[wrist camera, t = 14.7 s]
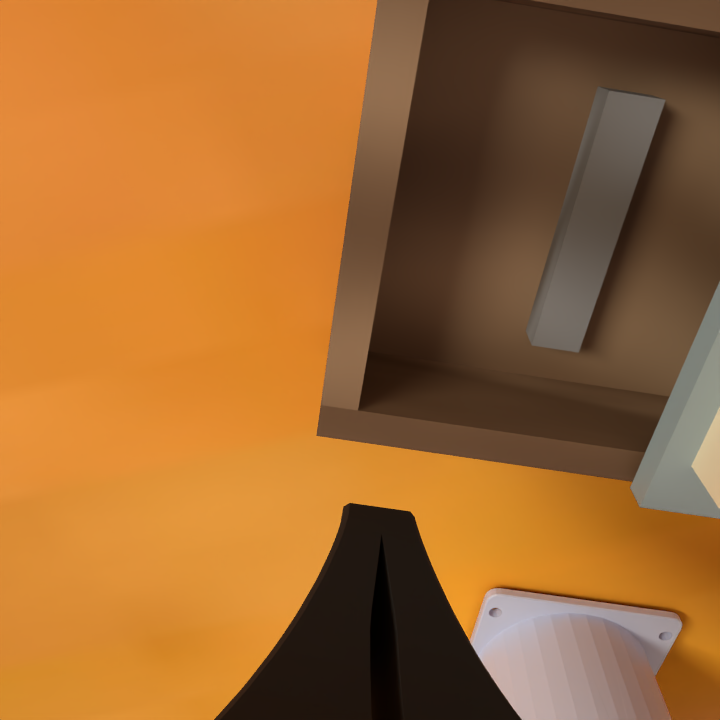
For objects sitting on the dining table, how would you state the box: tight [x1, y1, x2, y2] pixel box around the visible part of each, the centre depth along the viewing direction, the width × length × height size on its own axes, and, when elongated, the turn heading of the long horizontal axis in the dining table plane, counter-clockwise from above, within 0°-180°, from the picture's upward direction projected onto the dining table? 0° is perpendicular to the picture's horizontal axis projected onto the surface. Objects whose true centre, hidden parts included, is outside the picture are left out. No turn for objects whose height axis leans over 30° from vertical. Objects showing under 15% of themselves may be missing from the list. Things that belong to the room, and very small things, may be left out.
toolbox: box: [317, 0, 720, 482], centre depth 17 cm, size 12×15×4 cm
